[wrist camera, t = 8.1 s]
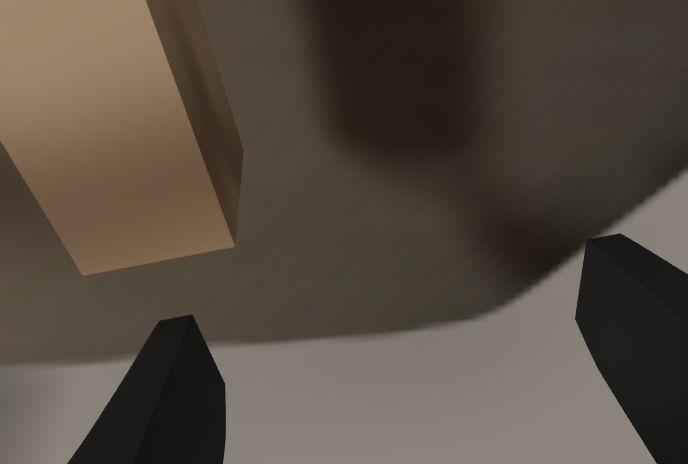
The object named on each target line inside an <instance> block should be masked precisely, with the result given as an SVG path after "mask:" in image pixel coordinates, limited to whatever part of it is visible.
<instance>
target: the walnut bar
mask: <svg viewBox="0 0 688 464" xmlns="http://www.w3.org/2000/svg"><path fill="white" fill-rule="evenodd" d="M0 141H1V142H2V144H3V146H4V147H5V149H6V151H7V152H8V154H9V156H10V157H11V159H12V161H13V162H14V164H15V165H16V167H17V169H18V170H19V172H20V174H21V175H22V177H23V179H24V180H25V182H26V184H27V185H28V187H29V188H30V190H31V192H32V193H33V195H34V197H35V198H36V200H37V202H38V203H39V205H40V206H41V208H42V210H43V211H44V213H45V215H46V216H47V218H48V220H49V221H50V223H51V225H52V226H53V228H54V229H55V231H56V233H57V234H58V236H59V238H60V239H61V241H62V243H63V244H64V246H65V247H66V249H67V251H68V252H69V254H70V256H71V257H72V259H73V261H74V262H75V264H76V266H77V267H78V269H79V270H80V272H81V274H82V275H83V276H84V275H89V274H94V273H100V272H105V271H110V270H115V269H121V268H126V267H131V266H136V265H142V264H147V263H152V262H157V261H162V260H168V259H173V258H178V257H183V256H189V255H194V254H199V253H204V252H209V251H215V250H220V249H225V248H230V247H235V241H236V229H237V218H238V206H239V195H240V184H241V172H242V161H243V148H242V145H241V141H240V138H239V135H238V132H237V128H236V125H235V122H234V119H233V115H232V112H231V109H230V106H229V102H228V99H227V96H226V93H225V89H224V86H223V83H222V80H221V76H220V73H219V70H218V67H217V63H216V60H215V57H214V54H213V50H212V47H211V44H210V41H209V37H208V34H207V31H206V28H205V24H204V21H203V18H202V15H201V11H200V8H199V5H198V2H197V0H0Z"/></svg>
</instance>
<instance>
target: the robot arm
mask: <svg viewBox="0 0 688 464" xmlns="http://www.w3.org/2000/svg"><path fill="white" fill-rule="evenodd" d="M575 320H576V322H577V324H578V326H579V329H580V331H581V333H582V335H583V338H584V340H585V342H586V345H587V347H588V349H589V351H590V353H591V355H592V357H593V359H594V361H595V364H596V366H597V368H598V369H599V371H600V373H601V374H602V376H603V378H604V379H605V381H606V382H607V384H608V386H609V387H610V389H611V391H612V393H613V394H614V396H615V397H616V399H617V401H618V402H619V404H620V405H621V407H622V409H623V410H624V412H625V414H626V415H627V417H628V418H629V420H630V422H631V423H632V425H633V426H634V428H635V429H636V431H637V433H638V434H639V436H640V437H641V439H642V440H643V442H644V444H645V445H646V447H647V449H648V450H649V452H650V453H651V455H652V457H653V458H654V460H655V461H656V463H657V464H688V274H686V273H685V272H683V271H681V270H680V269H678V268H677V267H675V266H673V265H672V264H670V263H669V262H667V261H665V260H664V259H662V258H660V257H659V256H657V255H656V254H654V253H652V252H651V251H649V250H647V249H646V248H644V247H643V246H641V245H639V244H638V243H636V242H634V241H632V240H631V239H629V238H627V237H625V236H624V235H622V234H615V235H609V236H604V237H599V238H594V239H588V240H587V241H586V247H585V254H584V261H583V268H582V275H581V282H580V288H579V295H578V302H577V309H576V316H575ZM225 439H226V403H225V383H224V381H223V379H222V377H221V375H220V372H219V370H218V368H217V366H216V364H215V362H214V360H213V357H212V355H211V353H210V351H209V349H208V347H207V345H206V343H205V340H204V338H203V336H202V334H201V332H200V330H199V328H198V326H197V323H196V321H195V319H194V317H193V315H188V316H182V317H177V318H172V319H166V320H161V321H159V322H158V324H157V325H156V327H155V328H154V330H153V331H152V333H151V335H150V336H149V338H148V339H147V341H146V343H145V344H144V346H143V348H142V349H141V351H140V352H139V354H138V356H137V357H136V359H135V361H134V362H133V364H132V366H131V367H130V369H129V371H128V372H127V374H126V375H125V377H124V379H123V380H122V382H121V384H120V385H119V387H118V388H117V390H116V392H115V393H114V395H113V396H112V398H111V399H110V401H109V402H108V404H107V406H106V407H105V409H104V410H103V412H102V413H101V415H100V417H99V418H98V420H97V421H96V423H95V424H94V426H93V427H92V429H91V430H90V432H89V433H88V435H87V436H86V438H85V439H84V441H83V442H82V444H81V445H80V446H79V448H78V449H77V451H76V452H75V454H74V455H73V456H72V458H71V459H70V461H69V462H68V464H223V459H224V449H225Z"/></svg>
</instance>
